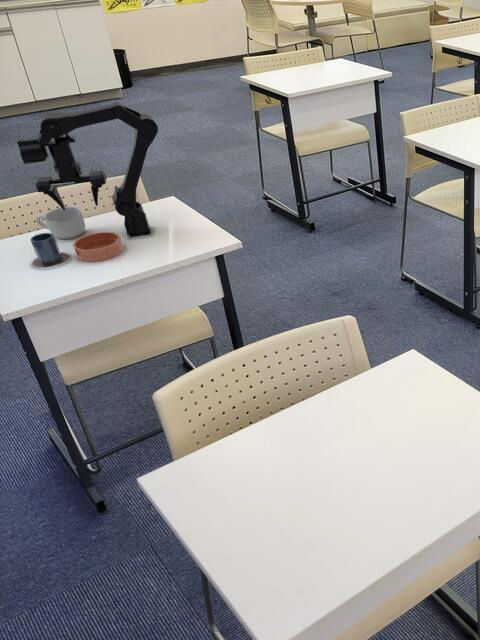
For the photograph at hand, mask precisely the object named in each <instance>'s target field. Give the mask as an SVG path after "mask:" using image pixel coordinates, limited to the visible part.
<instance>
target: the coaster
mask: <svg viewBox="0 0 480 640" xmlns="http://www.w3.org/2000/svg"><path fill="white" fill-rule="evenodd" d="M61 255H62V259H61V260H60V261H58V262H55V263H52V264H42V263H40V262H39V260H38V257H36V258H35V259H34V260H33V261H32V265H33V266H34V267H36V268H51V267H55V266H58V265H61V264H64V263H65V262H66V261H68V260H69V258H70V255H69V254H68V253H66V252H61Z"/></svg>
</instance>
